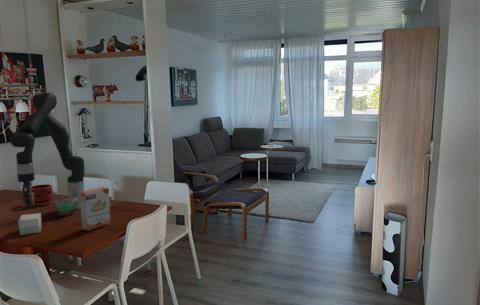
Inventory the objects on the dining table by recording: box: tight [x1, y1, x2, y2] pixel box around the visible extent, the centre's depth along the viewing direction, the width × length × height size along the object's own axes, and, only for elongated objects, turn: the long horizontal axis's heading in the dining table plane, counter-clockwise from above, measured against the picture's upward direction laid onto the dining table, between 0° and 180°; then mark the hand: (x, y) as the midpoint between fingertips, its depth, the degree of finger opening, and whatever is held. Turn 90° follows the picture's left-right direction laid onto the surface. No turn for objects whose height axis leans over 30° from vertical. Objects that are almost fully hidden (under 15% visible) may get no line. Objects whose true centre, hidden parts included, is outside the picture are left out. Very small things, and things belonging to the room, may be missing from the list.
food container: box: [53, 197, 77, 218], centre depth 214 cm, size 12×6×10 cm, turn 118°
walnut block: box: [20, 192, 35, 208], centre depth 188 cm, size 5×5×6 cm
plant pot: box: [31, 183, 53, 207], centre depth 236 cm, size 13×13×12 cm
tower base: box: [18, 221, 42, 236], centre depth 191 cm, size 9×9×4 cm
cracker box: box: [80, 186, 111, 232], centre depth 196 cm, size 14×6×21 cm, turn 145°
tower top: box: [17, 212, 42, 228], centre depth 190 cm, size 9×9×4 cm
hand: (28, 203), depth 189 cm, fingers closed on walnut block, 5 cm apart
